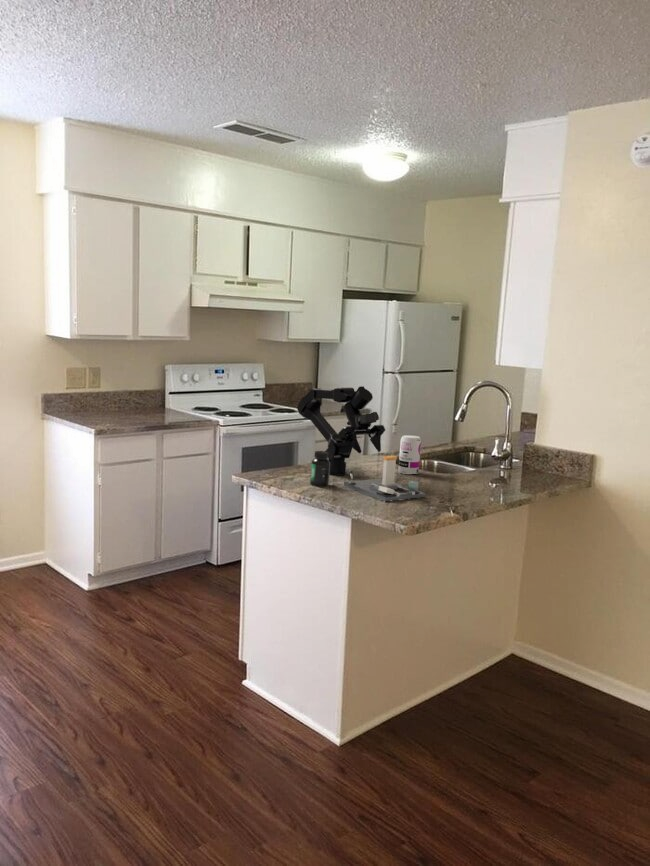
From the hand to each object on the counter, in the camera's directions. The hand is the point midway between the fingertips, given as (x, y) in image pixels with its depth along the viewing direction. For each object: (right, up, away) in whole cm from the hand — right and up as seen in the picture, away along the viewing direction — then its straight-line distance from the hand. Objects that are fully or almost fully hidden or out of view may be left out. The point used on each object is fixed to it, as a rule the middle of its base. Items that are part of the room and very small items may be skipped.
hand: (370, 452), depth 264 cm
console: (+4, -14, -7) cm, 16 cm away
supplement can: (+17, -10, +26) cm, 33 cm away
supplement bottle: (-19, -12, -3) cm, 22 cm away
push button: (+14, -13, -11) cm, 22 cm away
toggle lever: (-7, -10, -4) cm, 13 cm away
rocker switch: (+4, -13, -18) cm, 22 cm away
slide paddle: (+6, -12, -9) cm, 16 cm away
